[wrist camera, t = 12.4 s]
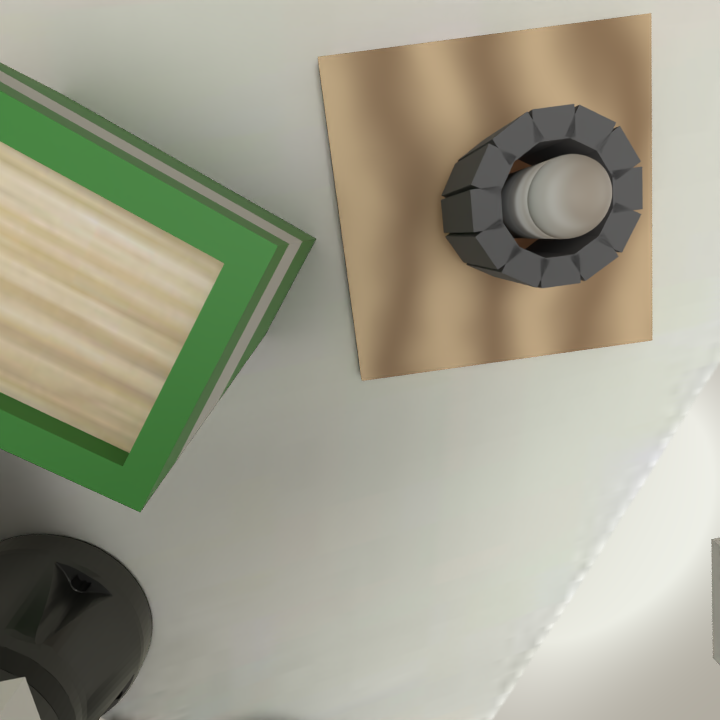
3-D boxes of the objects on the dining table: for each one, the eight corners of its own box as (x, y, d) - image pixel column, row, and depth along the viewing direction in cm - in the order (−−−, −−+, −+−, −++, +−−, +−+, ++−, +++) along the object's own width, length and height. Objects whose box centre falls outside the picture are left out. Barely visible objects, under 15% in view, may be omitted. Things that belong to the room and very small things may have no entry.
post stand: (360, 375, 37) (375, 453, 24) (318, 64, 33) (307, -54, 19) (640, 336, 38) (808, 391, 24) (637, 23, 33) (843, -123, 20)
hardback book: (16, 203, 34) (-690, 133, 11) (61, 94, 33) (-632, -264, 9) (265, 335, 37) (140, 512, 13) (316, 238, 35) (277, 245, 12)
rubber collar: (448, 284, 32) (478, 297, 25) (435, 144, 30) (464, 118, 24) (578, 266, 32) (643, 274, 26) (573, 126, 30) (641, 94, 24)
